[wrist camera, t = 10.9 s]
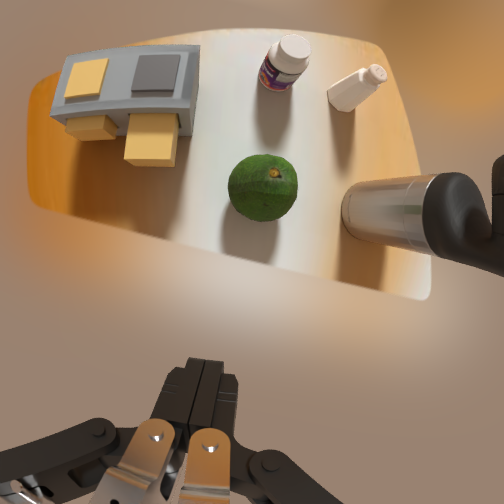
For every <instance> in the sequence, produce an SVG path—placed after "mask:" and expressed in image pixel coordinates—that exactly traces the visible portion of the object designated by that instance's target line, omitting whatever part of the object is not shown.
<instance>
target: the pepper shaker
mask: <svg viewBox="0 0 504 504" xmlns="http://www.w3.org/2000/svg"><path fill="white" fill-rule="evenodd" d="M386 80H387V74H386V71H385V70H384V69H383V68H382V67H381V66H379V65H377V64H372V65H371V66H370V67H369V68H367V69H365V68H362V69H360V70H358V71H356V72H354V73H352V74H350V75H349V76H347V77H345V78H343V79H341V80H340V81H338V82H336V83H334V84H333V85H332V86H331V87H330V88H329V89H328V90H327V92H328V99H329V102H330V103H331V104H332V105H333V106H334V107H335V108H336V109H337V110H338V111H343V112H351V111H352V110H353V109H354V108H355V107H357V106H358V105H359V104H360V103H361V102H363V101H364V100H365V99H366V98H368V97H369V96H370V95H371V94H372V93H374V92H375V91H376V90H377V89H378V88H379V86H380V84H381V83H383V82H385V81H386Z"/></svg>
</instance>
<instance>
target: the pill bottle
mask: <svg viewBox="0 0 504 504" xmlns="http://www.w3.org/2000/svg"><path fill="white" fill-rule="evenodd" d="M311 51H312V50H311V45H310V44H309V42H308V41H307V40H306V39H305V38H303V37H301V36H299V35H295V34H289V35H286V36H284V37H283V38H282V39H281V40H280V41H279V42H277V43H275V44H274V45H272V46H271V48H270V49H269V51H268V53H267V55H266V57H265V59H264V61H263V63H262V65H261V67H260V70H259V79H260V81H261V83H262V84H263V85H264V86H265V87H266V88H268V89H270V90H272V91H278V92H279V91H285V90H287V89H289V88H290V87H291V86H292V85H293V83H294V82H295V81H296V80H297V79H298V78H299V76H300V75H301V74H302V73H303V72H304V70H305V69H306V68H307V66H308V64H309V55H310V54H311Z"/></svg>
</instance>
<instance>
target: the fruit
mask: <svg viewBox="0 0 504 504" xmlns="http://www.w3.org/2000/svg"><path fill="white" fill-rule="evenodd" d="M297 190H298V183H297V174H296V172H295V170H294V168H293V166H292V165H291V164H290V163H289V162H288V161H287V160H285V159H284V158H282V157H278V156H273V155H269V154H265V155H254V156H250V157H247V158H246V159H244V160H242V161H241V162H239V163H238V165H237V166H236V167H235V168H234V169H233V171H232V173H231V175H230V177H229V182H228V192H229V197H230V200H231V202H232V204H233V206H234V207H235V209H236V210H237V211H238V212H240V213H241V214H243V215H244V216H246V217H247V218H249V219H251V220H255V221H259V222H262V221H273V220H275V219H278V218H281V217H282V216H283V215H285V214H286V213H287V212H288V211H289V209H290V208H291V207H292V205H293V203H294V202H295V200H296V198H297Z"/></svg>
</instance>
